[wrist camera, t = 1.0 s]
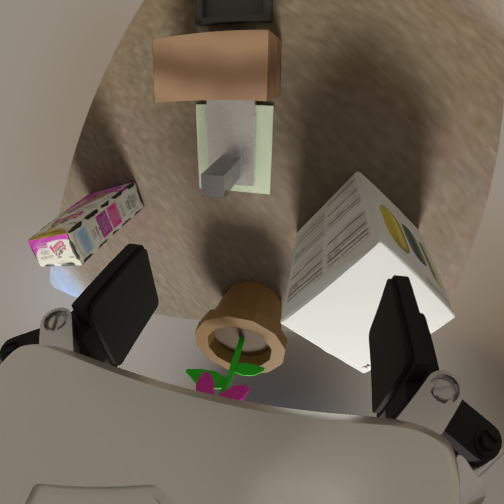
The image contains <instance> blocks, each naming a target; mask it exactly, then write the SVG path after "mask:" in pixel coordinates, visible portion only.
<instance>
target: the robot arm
mask: <svg viewBox="0 0 504 504" xmlns="http://www.w3.org/2000/svg"><path fill="white" fill-rule="evenodd" d="M157 306H158V296H157V292H156V288H155V284H154V280H153V275H152V271H151V267H150V262H149V258H148V253H147V250H146V249H144V247H143V246H142V245H137V244H128V245H127V246H126V247H125V248H124V249H123V250H122V251H121V252H120V253H119V254H118V255H117V256H116V257H115V258H114V259H113V260H112V261H111V262H110V263H109V264H108V265H107V266H106V267H105V269H104V270H103V271H102V272H101V273H100V274H99V275H98V276H97V277H96V278H95V279H94V280H93V281H92V283H91V284H90V285H89V286H88V287H87V288H86V289H85V290H84V291H83V293H82V294H81V295H80V296H79V297H78V298H77V299H76V300H75V302H74V303H73V304H72V307H73V311H72V312H70V311H69V310H68V309H66V308H57V309H54V310H51V311H50V312H48V313H47V314H46V315H45V316H44V317H43V319H42V320H41V325H40V328H39V329H36V330H33V331H31V332H28V333H25V334H22V335H19V336H16V337H13V338H11V339H9V340H7V341H6V342H5V343H4V345H3V346H2V348H1V350H0V504H504V453H503V454H502V452H501V450H500V449H501V444H502V440H501V435H500V433H499V431H498V429H497V428H496V427H495V426H494V425H492V424H491V423H490V422H489V421H488V420H486V419H485V418H484V417H483V416H482V415H480V414H479V413H478V412H477V411H475V410H474V409H473V408H472V407H470V406H469V405H468V404H467V403H466V402H464V401H463V400H462V398H463V395H464V389H463V385H462V383H461V381H460V380H459V378H458V377H457V376H456V375H454V374H453V373H451V372H449V371H445V370H439V367H438V363H437V359H436V354H435V350H434V346H433V342H432V338H431V335H430V331H429V327H428V324H427V320H426V317H425V315H424V314H423V313H420V311H419V308H418V305H417V301H416V298H415V295H414V292H413V288H412V285H411V282H410V279H409V277H407V276H398V275H394V276H393V277H392V279H388V280H387V282H386V285H385V288H384V291H383V294H382V297H381V300H380V303H379V306H378V309H377V312H376V314H375V317H374V320H373V323H372V325H371V328H370V331H369V348H370V363H371V379H372V381H371V382H372V410H373V412H374V413H377V417H368V416H355V415H343V414H332V413H322V412H313V411H304V410H295V409H288V408H281V407H275V406H268V405H262V404H256V403H250V402H245V401H240V400H235V399H230V398H225V397H221V396H216V395H212V394H207V393H203V392H199V391H195V390H191V389H187V388H183V387H179V386H175V385H172V384H168V383H165V382H161V381H158V380H155V379H151V378H148V377H145V376H142V375H139V374H135V373H132V372H129V371H126V370H123V369H120V368H117V366H118V365H121V364H122V362H123V361H124V359H125V357H126V356H127V354H128V353H129V351H130V349H131V348H132V346H133V344H134V343H135V341H136V340H137V338H138V336H139V335H140V333H141V332H142V330H143V328H144V327H145V325H146V324H147V322H148V321H149V319H150V318H151V316H152V314H153V313H154V311H155V310H156V308H157Z"/></svg>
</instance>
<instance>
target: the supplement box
mask: <svg viewBox="0 0 504 504" xmlns="http://www.w3.org/2000/svg"><path fill="white" fill-rule="evenodd" d="M394 275H398V276H407V277H409V279H410V282H411V285H412V288H413V292H414V295H415V298H416V301H417V305H418V308H419V311H420V313H423V314H424V315H425V317H426V320H427V324H428V327H429V331H430V334H431V333H433V332H434V331H436V330H437V329H439V328H440V327H442V326H443V325H444V324H446V323H447V322H449V321H450V320H451V319H452V318H454V317H455V314H454V311H453V309H452V306H451V304H450V301H449V298H448V296H447V293H446V291H445V288H444V286H443V283H442V281H441V279H440V276H439V274H438V271H437V269H436V267H435V265H434V262H433V260H432V258H431V256H430V253H429V251H428V249H427V247H426V245H425V243H424V241H423V238H422V236H421V234H420V232H419V230H418V229H417V228H416V227H415V226H414V224H413V223H412V222H411V221H410V220H409V219H408V218H407V217H406V216H405V215H404V214H403V213H402V212H401V211H400V210H399V209H398V208H397V207H396V206H395V205H394V204H393V203H392V202H391V201H390V200H389V199H388V198H387V197H386V196H385V195H384V194H383V193H382V192H381V191H380V190H379V189H378V188H377V187H376V186H375V185H374V184H373V183H372V182H371V181H369V180H368V179H367V178H366V177H365V176H364V175H363V174H362V173H361V172H359V171H357V172H355V173H354V174H353V176H352V177H351V178H350V179H349V180H348V181H347V182H346V183H345V184H344V185H343V186H342V187H341V188H340V189H339V190H338V191H337V192H336V193H335V194H334V195H333V196H332V197H331V198H330V199H329V200H328V201H327V202H326V203H325V204H324V205H323V206H322V207H321V208H320V209H319V210H318V211H317V212H316V213H315V214H314V215H313V217H312V218H311V219H310V220H309V221H308V222H307V223H306V224H305V225H304V226H303V227H302V228H301V229H300V230H299V231H298V232H297V236H296V243H295V248H294V254H293V260H292V266H291V271H290V276H289V281H288V287H287V293H286V298H285V302H284V307H283V312H282V316H281V320H280V322H281V324H283V325H285V326H286V327H288V328H289V329H291V330H293V331H294V332H296V333H297V334H299V335H301V336H302V337H304V338H306V339H307V340H309V341H310V342H312V343H314V344H316V345H317V346H319V347H320V348H322V349H323V350H324V351H325V352H327V353H329V354H332V355H334V356H335V357H337V358H339V359H341V360H342V361H344V362H345V363H347V364H349V365H350V366H352V367H354V368H355V369H357V370H359V371H361V372H362V373H366V372H368V371H370V370H371V363H370V348H369V331H370V328H371V325H372V323H373V320H374V317H375V314H376V312H377V309H378V306H379V303H380V300H381V297H382V294H383V291H384V288H385V285H386V282H387V280H388V279H392V277H393V276H394Z"/></svg>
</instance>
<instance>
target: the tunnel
mask: <svg viewBox="0 0 504 504" xmlns="http://www.w3.org/2000/svg"><path fill="white" fill-rule="evenodd" d="M281 50H282V41H281V40H280V39H279V38H278V37H276V36H275V35H274V34H273V33H272V32H270V31H269V30H231V31H215V32H204V33H194V34H186V35H178V36H171V37H165V38H159V39H153V56H154V88H155V103H158V102H173V101H193V100H253V101H268V100H270V99H272V98H274V97H276V96H278V95H280V81H281Z"/></svg>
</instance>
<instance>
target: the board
mask: <svg viewBox="0 0 504 504" xmlns="http://www.w3.org/2000/svg"><path fill="white" fill-rule="evenodd" d="M273 116H274V106H271V105H256V150H255V184H254V186H242V185H234V186H233V187H232V189H231V190H230V191H241V192H251V193H261V194H270V188H271V166H272V142H273ZM196 124H197V148H198V167H199V184H200V188H201V174H202V173H203V172H204V171H205V170H206V169H207V168H208V140H207V104H196Z"/></svg>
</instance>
